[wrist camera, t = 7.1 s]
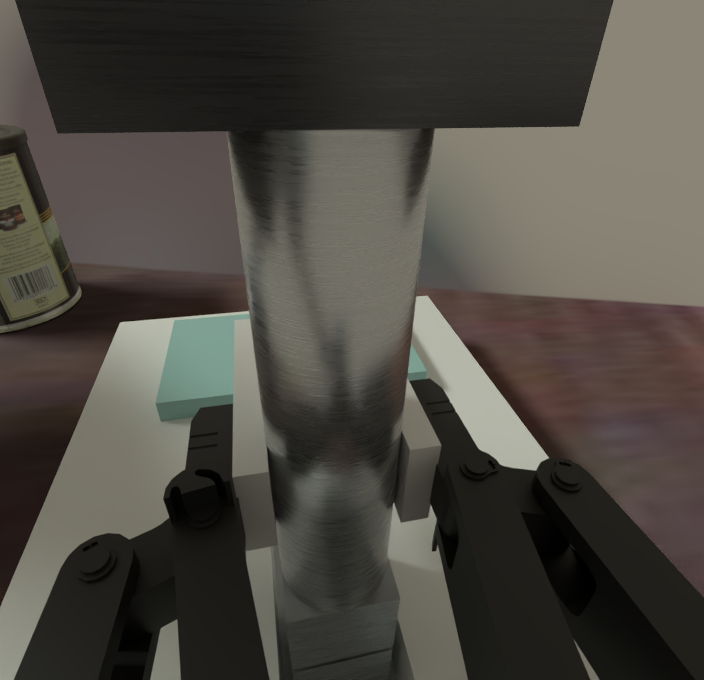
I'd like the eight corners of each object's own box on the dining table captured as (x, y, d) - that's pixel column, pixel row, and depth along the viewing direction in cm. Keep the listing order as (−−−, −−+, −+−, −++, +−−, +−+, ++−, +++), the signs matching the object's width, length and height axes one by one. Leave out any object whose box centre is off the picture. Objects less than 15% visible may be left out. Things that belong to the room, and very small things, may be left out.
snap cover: (160, 421, 22) (155, 403, 22) (178, 336, 29) (174, 320, 28) (424, 388, 25) (427, 370, 24) (385, 316, 31) (386, 301, 31)
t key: (239, 718, 15) (-37, -110, 4) (238, 617, 17) (73, -49, 6) (438, 669, 16) (652, -59, 5) (410, 581, 19) (512, -25, 8)
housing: (-109, 1142, 10) (-242, 1181, 7) (135, 369, 32) (120, 322, 30) (728, 832, 14) (803, 798, 11) (421, 339, 36) (427, 295, 34)
